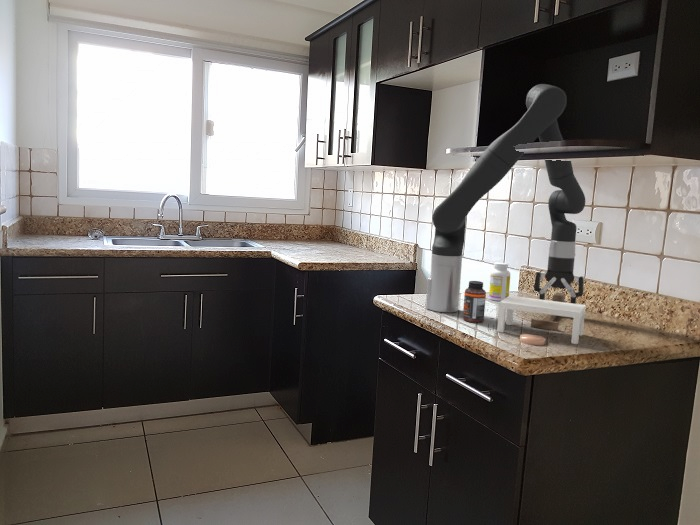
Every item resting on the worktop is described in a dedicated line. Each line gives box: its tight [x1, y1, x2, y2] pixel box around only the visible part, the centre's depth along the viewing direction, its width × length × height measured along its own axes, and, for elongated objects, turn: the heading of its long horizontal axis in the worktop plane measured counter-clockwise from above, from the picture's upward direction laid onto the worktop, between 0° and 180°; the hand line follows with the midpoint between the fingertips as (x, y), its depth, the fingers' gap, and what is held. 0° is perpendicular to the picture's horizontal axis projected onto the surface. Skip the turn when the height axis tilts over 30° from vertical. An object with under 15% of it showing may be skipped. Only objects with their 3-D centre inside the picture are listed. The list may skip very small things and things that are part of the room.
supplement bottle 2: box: [488, 262, 511, 302], centre depth 196 cm, size 7×7×13 cm
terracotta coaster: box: [519, 333, 546, 346], centre depth 140 cm, size 6×6×2 cm
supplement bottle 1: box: [462, 280, 487, 324], centre depth 160 cm, size 6×6×11 cm
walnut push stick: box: [530, 292, 566, 332], centre depth 167 cm, size 7×29×6 cm, turn 152°
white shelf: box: [496, 295, 586, 345], centre depth 149 cm, size 20×12×8 cm, turn 62°
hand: (556, 307), depth 175 cm, fingers open, 8 cm apart
